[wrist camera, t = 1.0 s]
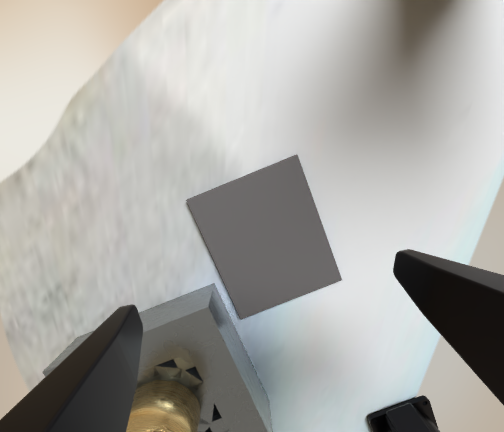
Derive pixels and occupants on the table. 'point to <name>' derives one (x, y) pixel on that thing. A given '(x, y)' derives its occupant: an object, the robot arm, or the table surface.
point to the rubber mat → (266, 237)
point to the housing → (200, 361)
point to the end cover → (164, 408)
